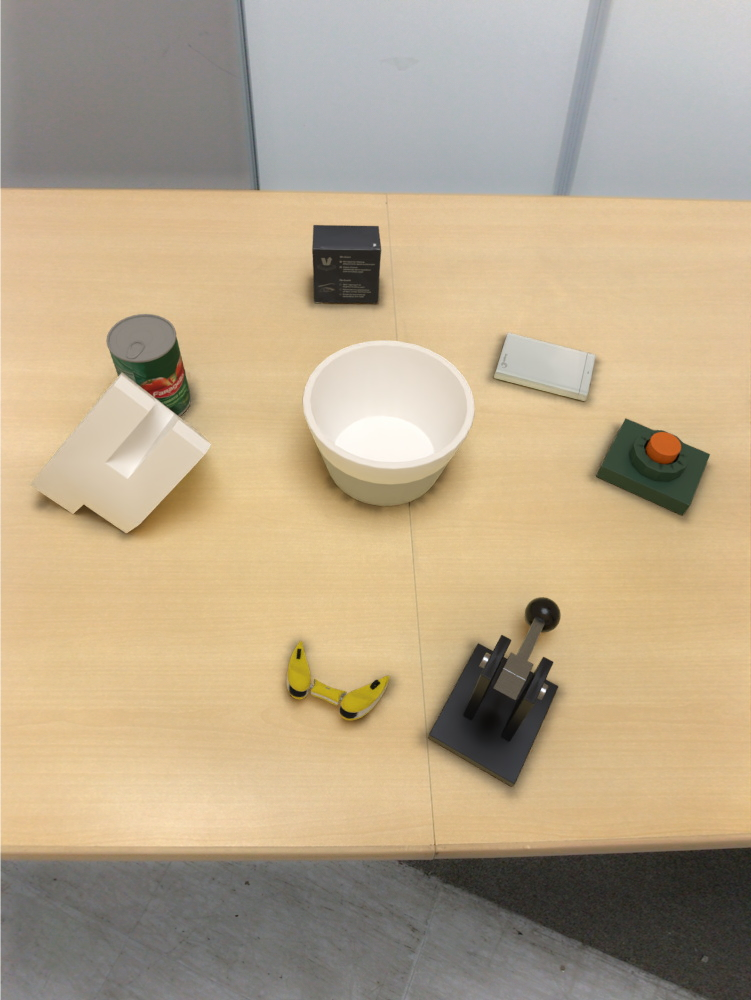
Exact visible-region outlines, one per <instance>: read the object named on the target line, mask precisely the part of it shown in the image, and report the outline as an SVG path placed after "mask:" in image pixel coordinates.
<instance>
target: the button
mask: <svg viewBox="0 0 751 1000" xmlns="http://www.w3.org/2000/svg"><path fill="white" fill-rule="evenodd" d="M666 432H667V431H666ZM666 432H658V433H656V434H654V435H653V436H652V437H651V439H650V441H649V443H648V444H647V446H646V453H647V455H648V457H649V458H650V459H651V460H653V461H654V462H657V463H659V464H669V463H672V462H673V461H674V460H675V459H676V457H677V455H678V454H679V452H680V450H681V443H680V441H679V440H678V439H677V438H676V437H675V436H676V435H675V434H673V433H670V432H668V433H666ZM672 434H673V435H672ZM674 435H675V436H674Z"/></svg>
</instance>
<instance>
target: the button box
mask: <svg viewBox="0 0 751 1000" xmlns="http://www.w3.org/2000/svg"><path fill="white" fill-rule="evenodd" d="M658 432H666V433H669V432H668V431H666V430H661V429H652V428H650V427H647V426H645V425H643V424H640V423H638V422H636V421H633V420H631V419H629V418H627V417H625V418H624V420H623V422H622V424H621V426H620V427H619V429H618V432H617V434H616V436H615V438H614V440H613V442H612V444H611V446H610V448H609V449H608V451H607V454H606V456H605V457H604V460H603V461H602V463H601V465H600V467H599V469H598V471H597V474H596V475H595V476H596V478H598V479H601V480H603V481H606V482H607V483H610V484H612V485H614V486H616V487H619V488H620V489H623V490H625V491H627V492H628V493H631V494H634V495H635V496H638V497H640V498H642V499H645V500H647V501H649V502H651V503H653V504H656V505H658V506H660V507H662V508H665V509H667V510H669V511H671V512H673V513H675V514H678V515H680V516H684V515H685V513H686V512H687V511H688V509H689V508H690V506H691V505H692V501H693V499H694V496H695V495H696V491H697V489H698V486H699V484H700V481H701V479H702V476H703V473H704V472H705V469H706V466H707V464H708V462H709V459H710V456H711V453H708V452H706V451H704V450H702V449H699V448H697V447H694V446H692V445H690V444H687V443H686V442H683V441H682V439H680V438H679V437H678V436H677V435H675V434H673V433H671V434H672V435H674V436H675V437H676V438H677V439H678V440H679V441H680V443H681V450H680V452H679V454H678V455H677V457H676V459H675V460H674V461H673V462H672V463H669V464H659V463H657V462H654V461H653V460H651V459H650V458H649V457H648V455H647V453H646V446H647V444H648V443H649V441H650V439H651V437H652V436H653V435H654V434H656V433H658Z"/></svg>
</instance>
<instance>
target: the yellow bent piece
mask: <svg viewBox="0 0 751 1000" xmlns="http://www.w3.org/2000/svg"><path fill="white" fill-rule="evenodd" d="M311 676H312V675H311V671H310V668H309V663H308V661H307V657H306V653H305V648H304V642H303V640H299V641H298V643H297V645H296V646H295V648H294V650H293V652H292V654H291V656H290V659H289V662H288V667H287V672H286V677H285V679H286V680H285V683H286V684H285V685H286V688H287V689H286V690H287V692H288V693H289V696H290V697H291V698H293V699H295V700H298V701H299V700H303V699H305V698H307V696H308V694H310V695H311V696H312V697H314V698H317V699H320V700H323V701H325V702H327V703H329V704H332V705H333V706H338V705H339V704H340V705H339V716H340V717H341V719H343V720H345V721H349V722H350V721H351V722H352V721H356V720H359V719H361V718H363V717H364V716H366V715H368V713H370V712H371V711H372V710H373V709H374V708H375V706H376V705H377V704H378V703H379V701H381V699H382V697H383V696H384V694H385V691H386V689H387V687H388V685H389V682H390V678H391V677H390V675H384V676H383V677H382V678H379V679H375V680H373V682H370V683H369V684H366V685H364V686H361V687H358V688H356V689H353V690H351V691H349V692H348V693H347V691H346V690H342V689H339V688H335V687H332V686H329V685H327V684H325V683H323V682H321V681H320V680H318V679H317V678H314V679H313V684H312V677H311ZM309 692H310V693H309Z"/></svg>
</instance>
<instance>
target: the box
mask: <svg viewBox="0 0 751 1000" xmlns="http://www.w3.org/2000/svg"><path fill="white" fill-rule="evenodd" d="M380 235H381V234H380V226H379V225H348V224H347V225H346V224H345V225H342V224H341V225H337V224H327V225H326V224H313V225H312V247H311V253H312V276H313V279H312V280H313V302H314V304H322V303H328V304H333V303H335V304H374V305H375V304H378V303H379V301H380V300H379V299H380V298H379V297H380V273H381V258H382V244H381V237H380Z"/></svg>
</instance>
